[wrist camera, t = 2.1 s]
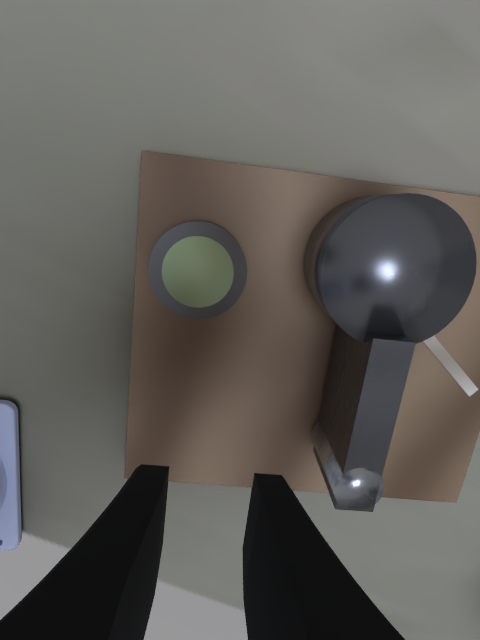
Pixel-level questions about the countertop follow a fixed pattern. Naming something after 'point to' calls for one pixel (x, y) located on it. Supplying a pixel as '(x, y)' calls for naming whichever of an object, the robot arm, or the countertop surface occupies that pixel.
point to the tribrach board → (271, 335)
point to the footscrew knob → (379, 323)
